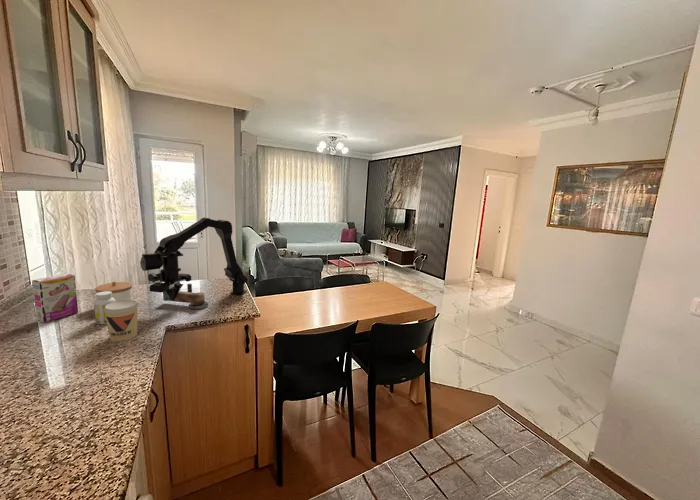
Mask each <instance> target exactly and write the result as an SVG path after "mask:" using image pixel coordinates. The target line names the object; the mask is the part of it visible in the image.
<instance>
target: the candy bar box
mask: <svg viewBox="0 0 700 500" xmlns="http://www.w3.org/2000/svg"><path fill="white" fill-rule="evenodd" d="M31 285H32V294H33V302H34V308H35V309H34V311H35V318H36V322H40V323H43V324H46V323H50V322H52V321H56V320H59V319H61V318H65V317H69V316H72V315H75V314H78V313H79V307H78V297H77V286H76V285H77V284H76V276H75V275H74V274H71V273H63V274H58V275H54V276H53V275H52V276H47V277H41V278H37V279H32V280H31Z"/></svg>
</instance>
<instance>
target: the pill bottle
mask: <svg viewBox="0 0 700 500" xmlns="http://www.w3.org/2000/svg"><path fill="white" fill-rule="evenodd" d="M111 296H112V292H111V291H104V292H99V293H97V294H96V293H95V298H96V299H95V300H94V302H93V307H94V308H93V309H94V315H95V317H94V318H95V322H96V323H97V324H99V325H107V321H106V316H105V311H104V308H105V306H106V305H108V304H110V303H113V302H116V300H115V298H113V297H111Z"/></svg>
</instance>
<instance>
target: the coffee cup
mask: <svg viewBox="0 0 700 500" xmlns="http://www.w3.org/2000/svg"><path fill="white" fill-rule="evenodd" d="M138 305H139V304H138V302H137V301H135V300H131V299H130V300H123V301H117V302H113V303H110V304H108V305H106V306H105V308H104V311H105V316H106V321H107V324H106V325H107V331H108V335H109V340H110V341H112V342H124V340H125V341H127V340H130V339H134V338H135V337H136V336H137V335H138Z"/></svg>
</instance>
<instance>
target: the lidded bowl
mask: <svg viewBox="0 0 700 500" xmlns="http://www.w3.org/2000/svg"><path fill="white" fill-rule="evenodd" d="M94 289H95V290H94V291H95V295H96V294H97V293H99V292H104V291H111V292H112V296H111V297H113V298H115V300H116V302H117V301H123V300H131V299H132V295H133V284H132V283H131V282H127V281H111V282H108V283H103V284H100V285H98V286H96V287H95V288H94Z"/></svg>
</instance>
